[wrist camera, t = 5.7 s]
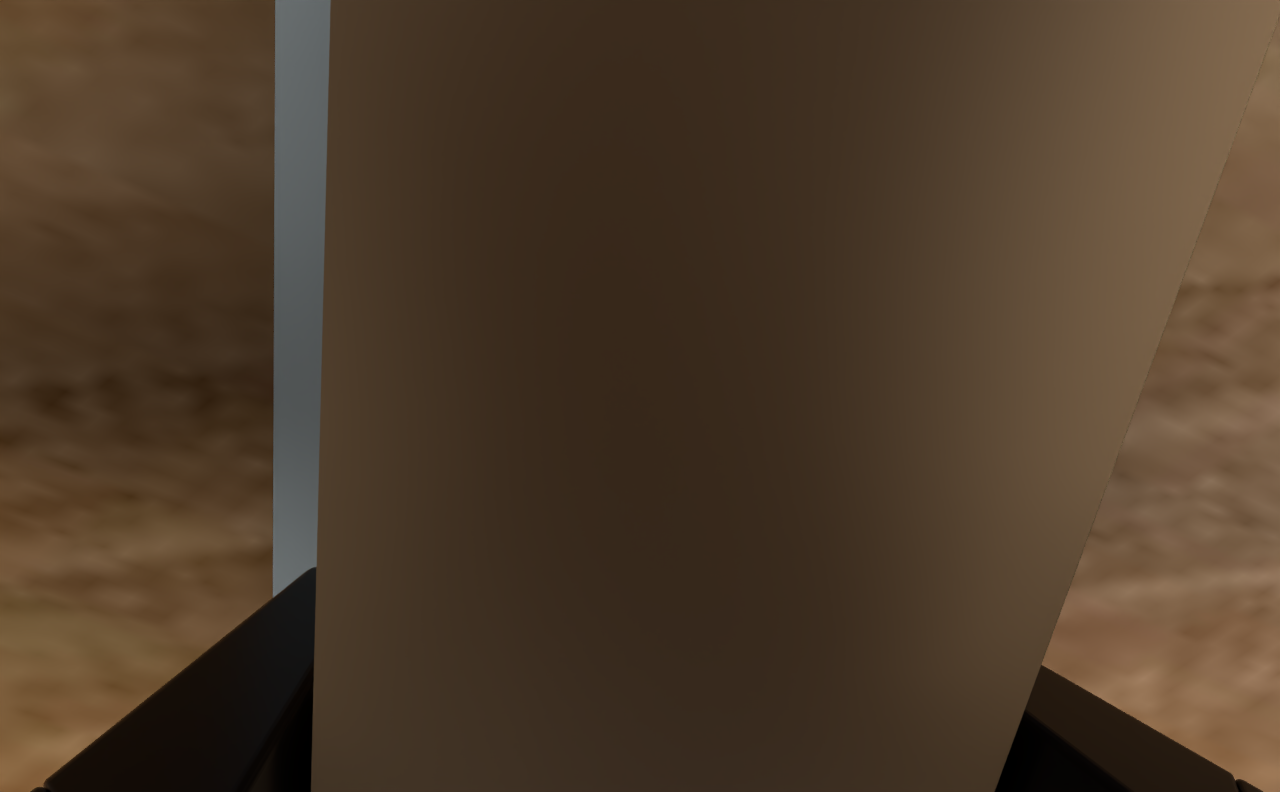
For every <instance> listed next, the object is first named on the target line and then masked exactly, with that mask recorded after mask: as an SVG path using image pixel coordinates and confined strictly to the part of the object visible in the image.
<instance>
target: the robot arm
mask: <svg viewBox="0 0 1280 792" xmlns="http://www.w3.org/2000/svg"><path fill="white" fill-rule="evenodd" d="M315 607H316V567H313V568H310V569H309V570H307V571H306V572H304V573H303V574H302V575H301V576H299V577H298V578H297V579H296V580H294V581H293V582H292V583H291V584H290V585H288V586H287V587H286V588H285V589H283V590H282V591H281V592H280V593H278V594H277V595H276V596H275V597H273V598H272V599H271V600H270V601H268V602H267V603H266V604H265V605H263V606H262V607H261V608H260V609H258V610H257V611H256V612H255V613H253V614H252V615H251V616H250V617H248V618H247V619H246V620H245V621H243V622H242V623H241V624H240V625H238V626H237V627H236V628H235V629H233V630H232V631H231V632H230V633H228V634H227V635H226V636H225V637H223V638H222V639H221V640H220V641H218V642H217V643H216V644H215V645H213V646H212V647H211V648H210V649H208V650H207V651H206V652H205V653H203V654H202V655H201V656H200V657H198V658H197V659H196V660H195V661H194V662H192V663H191V664H190V665H189V666H187V667H186V668H185V669H184V670H182V671H181V672H180V673H179V674H177V675H176V676H175V677H174V678H172V679H171V680H170V681H169V682H167V683H166V684H165V685H164V686H162V687H161V688H160V689H159V690H157V691H156V692H155V693H154V694H152V695H151V696H150V697H149V698H147V699H146V700H145V701H144V702H142V703H141V704H140V705H139V706H137V707H136V708H135V709H134V710H132V711H131V712H130V713H129V714H127V715H126V716H125V717H124V718H122V719H121V720H120V721H119V722H117V723H116V724H115V725H114V726H112V727H111V728H110V729H109V730H107V731H106V732H105V733H104V734H102V735H101V736H100V737H99V738H98V739H96V740H95V741H94V742H93V743H91V744H90V745H89V746H88V747H86V748H85V749H84V750H83V751H81V752H80V753H79V754H78V755H76V756H75V757H74V758H73V759H71V760H70V761H69V762H68V763H66V764H65V765H64V766H63V767H61V768H60V769H59V770H58V771H56V772H55V773H54V774H53V775H51V776H50V777H49V778H48V779H46V781H45V782H44V785H43V787H37V788H35V789H33V790H32V791H31V792H311V768H312V727H313V687H314V647H315ZM995 792H1263V791H1261V790H1260V789H1258V788H1256V787H1254V786H1253V785H1251V784H1249V783H1247V782H1246V781H1244V780H1241V779H1238V780H1236V781H1235V779H1234V777H1233V775H1232V774H1231V773H1230V772H1228V771H1226V770H1224V769H1223V768H1221V767H1219V766H1217V765H1216V764H1214V763H1212V762H1210V761H1209V760H1207V759H1205V758H1203V757H1202V756H1200V755H1198V754H1196V753H1195V752H1193V751H1191V750H1189V749H1188V748H1186V747H1184V746H1182V745H1181V744H1179V743H1177V742H1175V741H1174V740H1172V739H1170V738H1168V737H1167V736H1165V735H1163V734H1161V733H1160V732H1158V731H1156V730H1154V729H1153V728H1151V727H1149V726H1148V725H1146V724H1144V723H1142V722H1141V721H1139V720H1137V719H1135V718H1134V717H1132V716H1130V715H1128V714H1127V713H1125V712H1123V711H1121V710H1120V709H1118V708H1116V707H1114V706H1113V705H1111V704H1109V703H1107V702H1106V701H1104V700H1102V699H1100V698H1099V697H1097V696H1095V695H1093V694H1092V693H1090V692H1088V691H1086V690H1085V689H1083V688H1081V687H1079V686H1078V685H1076V684H1074V683H1072V682H1071V681H1069V680H1067V679H1065V678H1064V677H1062V676H1060V675H1059V674H1057V673H1055V672H1053V671H1052V670H1050V669H1048V668H1046V667H1045V666H1043V665H1041V666H1040V669H1039V672H1038V675H1037V677H1036V680H1035V683H1034V686H1033V688H1032V691H1031V694H1030V696H1029V699H1028V702H1027V705H1026V707H1025V710H1024V713H1023V715H1022V718H1021V721H1020V724H1019V726H1018V729H1017V732H1016V735H1015V737H1014V740H1013V743H1012V745H1011V748H1010V751H1009V754H1008V756H1007V759H1006V762H1005V764H1004V767H1003V770H1002V773H1001V775H1000V778H999V781H998V783H997V786H996V789H995Z"/></svg>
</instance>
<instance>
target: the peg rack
mask: <svg viewBox="0 0 1280 792" xmlns="http://www.w3.org/2000/svg"><path fill="white" fill-rule="evenodd" d="M330 3H331V0H275V195H274V432H273V597H275V596H276V595H277V594H278V593H280V592H281V591H282V590H283V589H285V588H286V587H287V586H288V585H290V584H291V583H292V582H293V581H294V580H296V579H297V578H298V577H299V576H301V575H302V574H303V573H304V572H306V571H307V570H309V569H310V568H313V567H317V526H318V486H319V446H320V406H321V365H322V325H323V285H324V245H325V204H326V164H327V124H328V84H329V44H330Z"/></svg>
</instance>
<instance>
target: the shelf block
mask: <svg viewBox="0 0 1280 792" xmlns="http://www.w3.org/2000/svg"><path fill="white" fill-rule="evenodd" d="M1279 16H1280V0H331V3H330V44H329V84H328V124H327V164H326V204H325V245H324V285H323V325H322V365H321V406H320V446H319V486H318V526H317V567H316V607H315V647H314V687H313V727H312V768H311V792H995V789H996V786H997V783H998V781H999V778H1000V775H1001V773H1002V770H1003V767H1004V764H1005V762H1006V759H1007V756H1008V754H1009V751H1010V748H1011V745H1012V743H1013V740H1014V737H1015V735H1016V732H1017V729H1018V726H1019V724H1020V721H1021V718H1022V715H1023V713H1024V710H1025V707H1026V705H1027V702H1028V699H1029V696H1030V694H1031V691H1032V688H1033V686H1034V683H1035V680H1036V677H1037V675H1038V672H1039V669H1040V666H1041V664H1042V661H1043V658H1044V656H1045V653H1046V650H1047V647H1048V645H1049V642H1050V639H1051V637H1052V634H1053V631H1054V628H1055V626H1056V623H1057V620H1058V618H1059V615H1060V612H1061V609H1062V607H1063V604H1064V601H1065V598H1066V596H1067V593H1068V590H1069V588H1070V585H1071V582H1072V579H1073V577H1074V574H1075V571H1076V569H1077V566H1078V563H1079V560H1080V558H1081V555H1082V552H1083V550H1084V547H1085V544H1086V541H1087V539H1088V536H1089V533H1090V530H1091V528H1092V525H1093V522H1094V520H1095V517H1096V514H1097V511H1098V509H1099V506H1100V503H1101V501H1102V498H1103V495H1104V492H1105V490H1106V487H1107V484H1108V482H1109V479H1110V476H1111V473H1112V471H1113V468H1114V465H1115V462H1116V460H1117V457H1118V454H1119V452H1120V449H1121V446H1122V443H1123V441H1124V438H1125V435H1126V433H1127V430H1128V427H1129V424H1130V422H1131V419H1132V416H1133V414H1134V411H1135V408H1136V405H1137V403H1138V400H1139V397H1140V394H1141V392H1142V389H1143V386H1144V384H1145V381H1146V378H1147V375H1148V373H1149V370H1150V367H1151V365H1152V362H1153V359H1154V356H1155V354H1156V351H1157V348H1158V346H1159V343H1160V340H1161V337H1162V335H1163V332H1164V329H1165V326H1166V324H1167V321H1168V318H1169V316H1170V313H1171V310H1172V307H1173V305H1174V302H1175V299H1176V297H1177V294H1178V291H1179V288H1180V286H1181V283H1182V280H1183V277H1184V275H1185V272H1186V269H1187V267H1188V264H1189V261H1190V258H1191V256H1192V253H1193V250H1194V248H1195V245H1196V242H1197V239H1198V237H1199V234H1200V231H1201V229H1202V226H1203V223H1204V220H1205V218H1206V215H1207V212H1208V209H1209V207H1210V204H1211V201H1212V199H1213V196H1214V193H1215V190H1216V188H1217V185H1218V182H1219V180H1220V177H1221V174H1222V171H1223V169H1224V166H1225V163H1226V161H1227V158H1228V155H1229V152H1230V150H1231V147H1232V144H1233V141H1234V139H1235V136H1236V133H1237V131H1238V128H1239V125H1240V122H1241V120H1242V117H1243V114H1244V112H1245V109H1246V106H1247V103H1248V101H1249V98H1250V95H1251V93H1252V90H1253V87H1254V84H1255V82H1256V79H1257V76H1258V73H1259V71H1260V68H1261V65H1262V63H1263V60H1264V57H1265V54H1266V52H1267V49H1268V46H1269V44H1270V41H1271V38H1272V35H1273V33H1274V30H1275V27H1276V25H1277V22H1278V19H1279Z"/></svg>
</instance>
